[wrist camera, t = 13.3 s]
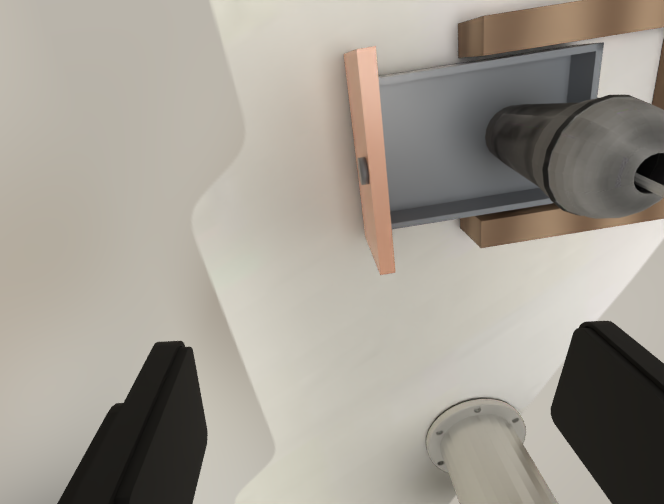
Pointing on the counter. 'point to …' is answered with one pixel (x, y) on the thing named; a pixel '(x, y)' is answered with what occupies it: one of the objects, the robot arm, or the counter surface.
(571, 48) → the tray
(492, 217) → the housing
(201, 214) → the counter surface
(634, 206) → the beverage cup
